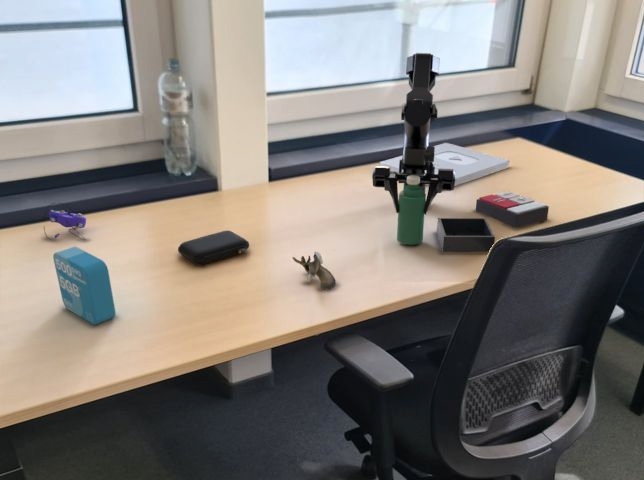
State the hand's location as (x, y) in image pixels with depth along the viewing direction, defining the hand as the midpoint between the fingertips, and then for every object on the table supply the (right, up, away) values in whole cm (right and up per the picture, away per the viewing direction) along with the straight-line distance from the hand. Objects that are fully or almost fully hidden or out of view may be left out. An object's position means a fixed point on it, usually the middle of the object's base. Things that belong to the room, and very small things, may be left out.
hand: (411, 213), depth 170 cm
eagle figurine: (-21, -17, -11) cm, 29 cm away
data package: (-65, -25, -23) cm, 73 cm away
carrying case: (-44, -9, 0) cm, 45 cm away
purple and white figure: (-81, -4, +9) cm, 81 cm away
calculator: (+27, +4, +22) cm, 35 cm away
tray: (+13, -6, +6) cm, 16 cm away
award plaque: (+15, +25, +53) cm, 60 cm away
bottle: (0, -5, +5) cm, 7 cm away
